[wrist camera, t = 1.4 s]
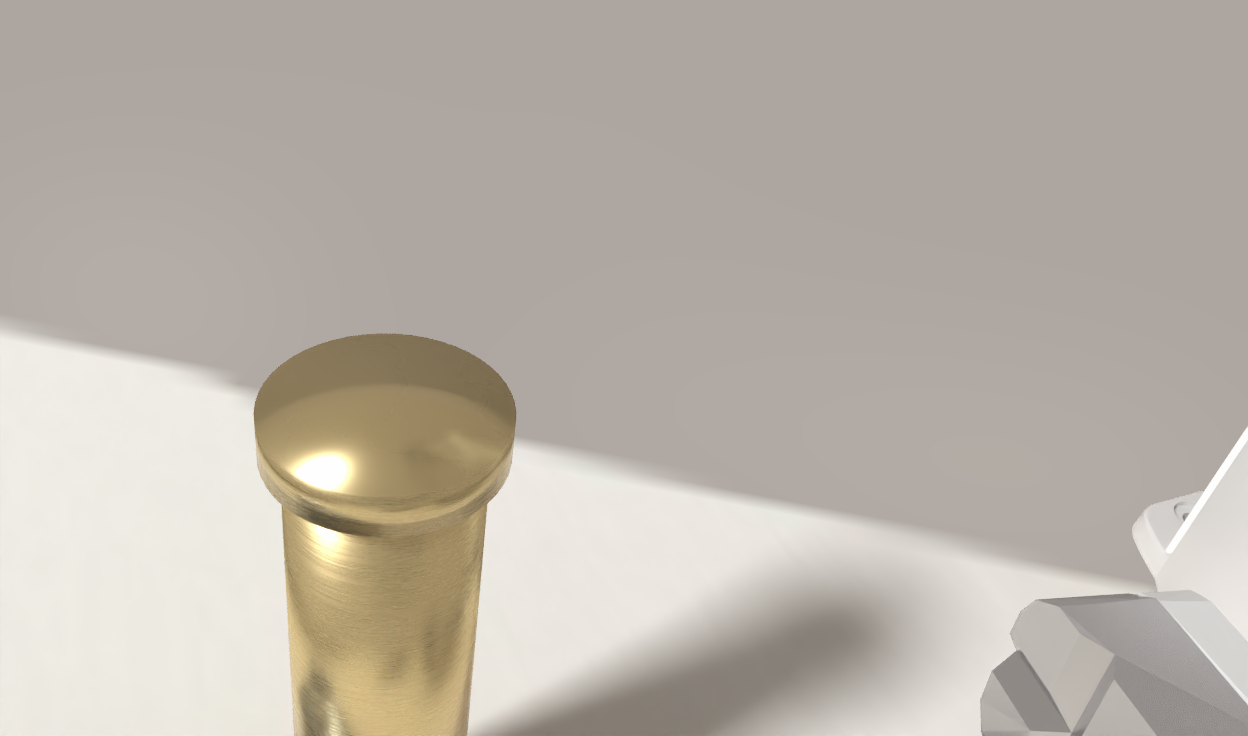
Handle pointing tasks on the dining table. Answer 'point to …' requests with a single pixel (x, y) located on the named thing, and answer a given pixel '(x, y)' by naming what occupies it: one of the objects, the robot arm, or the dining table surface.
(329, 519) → the pin
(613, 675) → the dining table surface
